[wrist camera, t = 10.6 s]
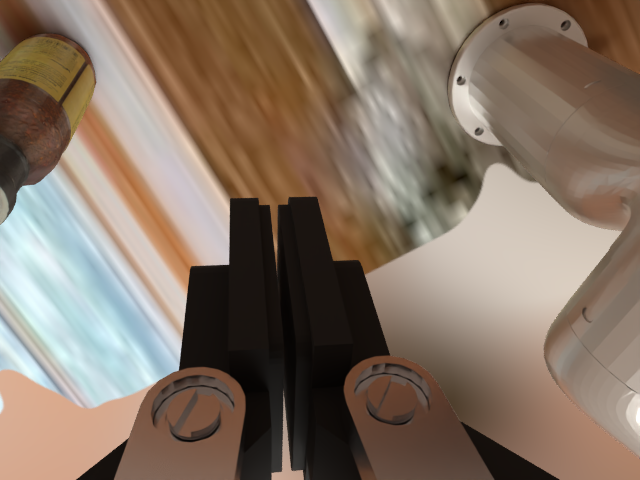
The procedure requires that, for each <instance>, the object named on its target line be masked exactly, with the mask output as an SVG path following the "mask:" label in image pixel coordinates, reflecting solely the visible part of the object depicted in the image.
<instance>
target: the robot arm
mask: <svg viewBox="0 0 640 480" xmlns="http://www.w3.org/2000/svg"><path fill="white" fill-rule="evenodd" d="M501 20H502V23H501V24H499V23H500V21H501ZM562 22H563V24H562ZM561 24H562V25H561ZM459 76H460V79H458V80H457V78H458V77H459ZM448 98H449V105H450V108H451V111H452V113H453V116H454V118H455V119H456V121H457V122H458V124H459V125H460V126H461V127H462V129H463V130H464V131H465V132H466V133H467V134H468V135H470V136H471V137H472V138H474V139H475V140H478V141H480V142H483V143H485V144H489V145H495V146H504V147H505V148H506V149H507V150H508V151H509V152H510V153H511V154H512V155H513V157H514V158H515V159H516V160H517V161H518V162H519V163H520V164H521V165H522V166H523V167H524V168H525V169H526V170H527V171H528V172H529V173H530V174H531V175H532V176H533V177H534V178H535V180H536V181H537V182H538V183H539V184H540V185H541V186H542V187H543V188H544V189H545V190H546V191H547V192H548V193H549V194H550V195H551V196H552V197H553V198H554V199H555V200H556V201H557V202H558V203H559V204H560V205H561V206H562V207H563V208H564V209H565V210H566V211H567V212H568V213H569V214H571V215H572V216H573V217H575V218H577V219H578V220H580V221H582V222H584V223H587V224H590V225H593V226H596V227H599V228H603V229H610V230H618V231H622V233H621V234H620V235H619V237H618V238H617V239H616V241H615V242H614V243H613V244H612V246H611V247H610V249H609V251H608V252H607V253H606V255H605V256H604V257H603V258H602V260H601V261H600V262H599V264H598V265H597V266H596V267H595V269H594V270H593V271H592V272H591V273H590V275H589V276H588V277H587V279H586V280H585V281H584V282H583V283H582V285H581V286H580V287H579V288H578V290H577V291H576V292H575V293H574V295H573V296H572V297H571V298H570V300H569V301H568V303H567V304H566V305H565V307H564V308H563V309H562V310H561V312H560V313H559V314H558V316H557V317H556V319H555V320H554V322H553V323H552V325H551V326H550V328H549V330H548V333H547V335H546V338H545V342H544V358H545V362H546V365H547V368H548V370H549V372H550V374H551V376H552V378H553V379H554V381H555V382H556V384H557V385H558V387H559V388H560V389H561V390H562V392H563V393H564V394H565V395H566V396H567V398H569V400H571V402H572V403H573V404H574V405H575V406H576V407H577V408H578V409H580V411H581V412H583V413H584V414H585V415H586V416H587V417H588V418H589V419H591V420H592V421H593V422H594V423H595V424H596V425H598V426H599V427H600V428H601V429H603V430H604V431H605V432H606V433H608V434H609V435H610V436H611V437H613V438H614V439H615V440H616V441H618V442H619V443H620V444H621V445H623V446H624V447H625V448H627V449H628V450H629V451H630V452H632V453H633V454H634V455H636V456H637V457H638V458H639V459H640V74H638V73H636V72H634V71H632V70H630V69H628V68H626V67H624V66H622V65H620V64H618V63H616V62H614V61H613V60H611V59H609V58H607V57H605V56H603V55H601V54H599V53H597V52H595V51H593V50H591V49H589V48H588V43H587V39H586V37H585V34H584V32H583V30H582V28H581V27H580V25H579V24H578V23H577V22H576V20H575V19H574V18H573V17H571V16H570V15H569V14H567V13H566V12H564V11H562V10H560V9H558V8H556V7H553V6H549V5H546V4H541V3H526V4H521V5H515V6H512V7H510V8H507V9H505V10H502V11H500V12H498V13H496V14H495V15H493V16H491V17H490V18H488V19H487V20H486V21H484V22H483V23H482V24H481V25H480V26H478V27H477V28H476V29H475V30H474V31H473V32H472V34H471V35H470V36H469V37H468V38H467V39H466V41H465V42H464V44H463V45H462V47H461V48H460V50H459V52H458V53H457V56H456V58H455V60H454V63H453V65H452V68H451V72H450V76H449V81H448ZM283 390H284V398H285V408H286V420H287V430H288V441H289V451H290V461H291V470H292V471H296V470H303V475H304V480H559V479H558V478H556V477H554V476H552V475H551V474H549V473H547V472H546V471H544V470H542V469H541V468H539V467H537V466H535V465H534V464H532V463H530V462H529V461H527V460H525V459H524V458H522V457H520V456H519V455H517V454H515V453H513V452H512V451H510V450H508V449H507V448H505V447H503V446H502V445H500V444H498V443H496V442H495V441H493V440H491V439H490V438H488V437H486V436H485V435H483V434H481V433H480V432H478V431H476V430H474V429H472V428H471V427H469V426H468V425H466V424H464V423H463V422H461V421H460V420H459V419H458V417H457V415H456V413H455V412H454V410H453V408H452V407H451V405H450V403H449V402H448V400H447V398H446V396H445V395H444V393H443V391H442V389H441V388H440V386H439V384H438V383H437V382H436V380H435V379H434V378H433V377H432V375H431V374H430V373H429V372H428V371H427V370H425V369H424V368H422V367H421V366H420V365H418V364H417V363H414V362H412V361H409V360H407V359H405V358H400V357H395V356H390V353H389V350H388V347H387V344H386V341H385V338H384V335H383V331H382V328H381V325H380V322H379V319H378V316H377V312H376V309H375V306H374V303H373V300H372V297H371V294H370V290H369V287H368V284H367V281H366V278H365V275H364V271H363V268H362V266H361V263H360V262H359V261H358V260H348V261H333V259H332V255H331V251H330V247H329V243H328V239H327V235H326V231H325V227H324V223H323V219H322V215H321V211H320V207H319V203H318V199H317V197H289V199H288V205H278V249H277V271H276V262H275V252H274V242H273V233H272V223H271V213H270V205H259V200H258V198H230V250H229V265H212V266H191V269H190V275H189V284H188V293H187V303H186V312H185V321H184V330H183V339H182V348H181V357H180V366H179V371H177V372H173V373H171V374H170V375H168V376H166V377H165V378H163V379H161V380H159V381H158V382H157V383H156V384H155V385H154V386H153V387H152V388H151V389H150V390H149V391H148V393H147V394H146V396H145V398H144V400H143V402H142V403H141V406H140V409H139V411H138V414H137V417H136V420H135V422H134V426H133V428H132V431H131V434H130V437H129V438H128V439H127V440H126V441H125V442H123V443H122V444H121V445H120V446H118V447H117V448H116V449H114V450H113V451H112V452H111V453H109V454H108V455H107V456H106V457H104V458H103V459H102V460H100V461H99V462H98V463H97V464H95V465H94V466H93V467H92V468H90V469H89V470H88V471H87V472H85V473H84V474H83V475H82V476H80V477H79V478H78V479H76V480H271V473H274V472H281V471H282V440H283Z"/></svg>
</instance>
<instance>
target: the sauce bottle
mask: <svg viewBox="0 0 640 480" xmlns="http://www.w3.org/2000/svg"><path fill="white" fill-rule="evenodd" d="M95 85H96V79H95V71H94V69H93V65H92V63H91V60H90V58H89V56H88V54H87V53H86V52H85V51H84V49H83V48H81V47H80V46H79V45H78V44H76V43H75V42H73V41H71V40H70V39H68V38H66V37H64V36H61V35H58V34H51V33H47V34H38V35H34V36H31V37H28V38H27V39H25V40H24V41H22V42H21V43H19V44H18V45H17V46H16V47H15V48H14V49H13V50H12V51H11V52H10V53H9V54H8V55H7V56H6V57H5V58H4V59H3V60H2V61H1V62H0V225H1V224H2V223H3V222H4V221H5V220H6V218H7V217H8V216H9V214H10V213H11V211H12V210H13V208H14V206H15V203H16V196H17V195H16V194H17V192H18V190H19V189H20V188H21V187H22V186H25V185H34V184H36V183H38V182H40V181H41V180H42V179H43V178H44V177H45V176H46V175H47V174H49V173H50V172H51V171H52V170H53V169H54V167H55V166H56V165H57V163H58V161H59V160H60V157H61V155H62V153H63V152H64V151H65V150H66V148H67V147H68V145H69V143H70V141H71V139H72V137H73V135H74V133H75V131H76V129H77V127H78V125H79V123H80V121H81V119H82V117H83V115H84V112H85V110H86V108H87V106H88V104H89V102H90V100H91V98H92V96H93V92H94V88H95Z"/></svg>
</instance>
